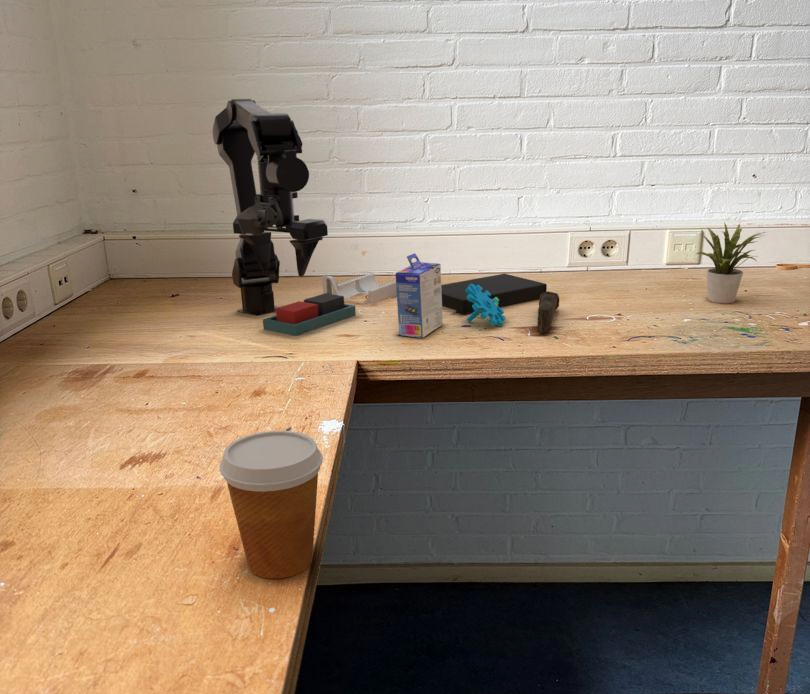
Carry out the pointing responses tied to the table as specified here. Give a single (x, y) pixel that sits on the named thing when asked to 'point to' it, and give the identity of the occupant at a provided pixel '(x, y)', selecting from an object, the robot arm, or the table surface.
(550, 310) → the hand tool
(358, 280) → the skate ramp
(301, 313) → the red rectangular block
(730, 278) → the house plant
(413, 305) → the ink cartridge box
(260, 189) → the robot arm
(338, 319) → the tray
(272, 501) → the disposable coffee cup
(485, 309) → the blue coral piece
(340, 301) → the dark grey block
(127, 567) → the table surface
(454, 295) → the external hard drive
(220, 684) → the table surface
